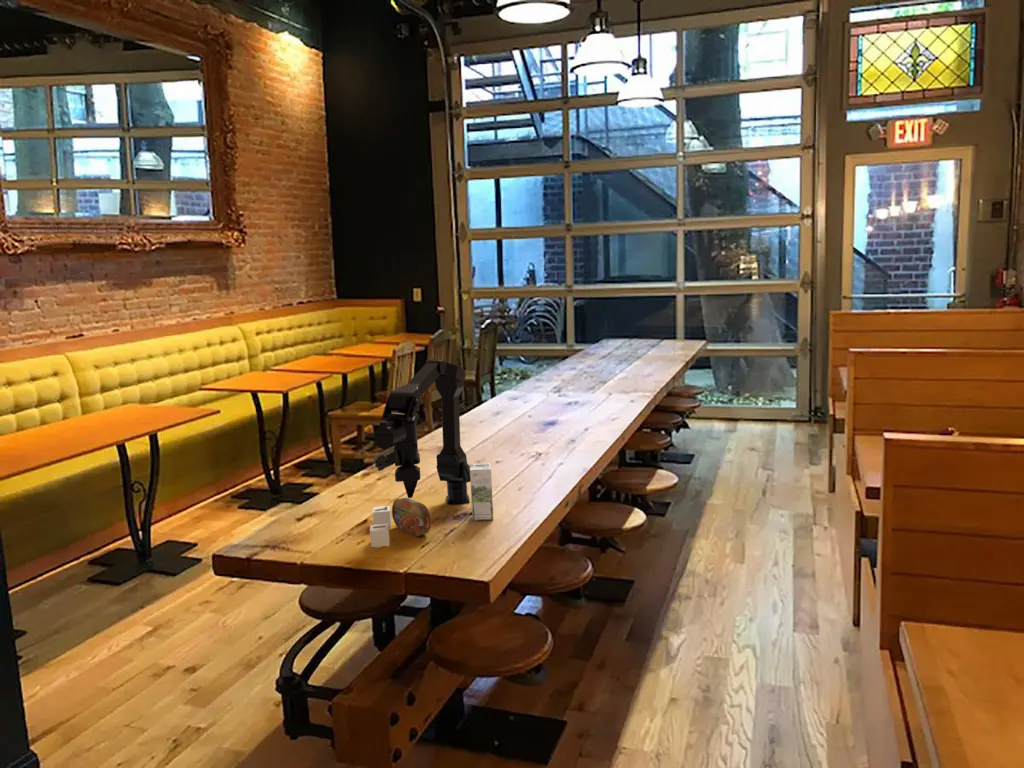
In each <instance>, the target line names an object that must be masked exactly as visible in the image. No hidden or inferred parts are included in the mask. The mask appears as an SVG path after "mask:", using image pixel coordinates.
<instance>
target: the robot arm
mask: <svg viewBox="0 0 1024 768" xmlns="http://www.w3.org/2000/svg"><path fill="white" fill-rule="evenodd" d="M465 380H466V371H465V369H464V368H463V367H462V366H461V365H457V364H452V363H449V362H447V361H445V360H443V359H428V360H425V361H424V365H423V366H422V367H421V369H420V370H419V371H417V372H416V374H415V375H414V376H413V377H412V378H411V379H410V380H409V381H408V383H406V384H404V385H401V386H398V387H396V388H395V389H393V390H392V391H391V392H389V395H388V396H387V399H386V402H385V406H384V409H383V413H382V415H381V421H379V427H378V428H376V429H375V431H374V435H373V441H374V443H375V445H376V446H377V447H378V448H380V450H381V449H382V450H385V451H383V452H381V453H378V454H376V455H374V456H373V462H374V466H375V468H377V469H376V470H377V471H378V472H381V471H383V470H384V469H387V468H388V467H390V466H393V465H394V467H397V468H396V469H395V470H394V479H395V482H397V483H399V482H403V486H404V489H405V492H406V496H407V498H408V499H413V497H414V494H415V491H416V487H417V485H418V483H419V480H421V468H420V467H418V465H419V464H421V457H420V456H421V454H420V453H419V443H418V431H417V420H418V419H419V418H420V415H419V414H418V413H417V411H418V410H419V408H421V407H420V406H421V405H422V397H423V395H424V394H425V393H426V392H427V391H428V390H429V388H431V386H432V385H433V384H434V386H435V390H436V391H437V393H438V394H439V395H440V397H441V399H440V400H441V421H442V422H441V424H442V449H441V450H440V452H439V453H438V454H436V471H437V475H438V478H439V482H440V481H441V482H442V481H443V482H446V488H447V489H446V491H447V495H446V497H445V499H446V500H445V501H446V505H455V504H457V505H459V504H466V503H467V504H468V503H470V496H469V494H468V486H467V484H468V483H471V482H470V465H469V463H468V459H467V454H466V453H465V450H464V449H463V448H462V446H461V429H460V427H461V424H460V423H461V422H460V421H461V420H460V394H462V393H461V392H462V391H463V389H464V388H465Z"/></svg>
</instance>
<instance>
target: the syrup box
mask: <svg viewBox="0 0 1024 768" xmlns="http://www.w3.org/2000/svg"><path fill="white" fill-rule="evenodd" d="M469 466H470V482H469V483H470V496H471V497H470V499H471V515H472V521H473V522H475V521H476V522H478V521H492V520H493V521H494V503H493V502H494V501H493V489H492V488H493V486H492V485H493V484H492V482H493V481H492V465H491V463H489V462H488V463H474V464H470V465H469Z"/></svg>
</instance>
